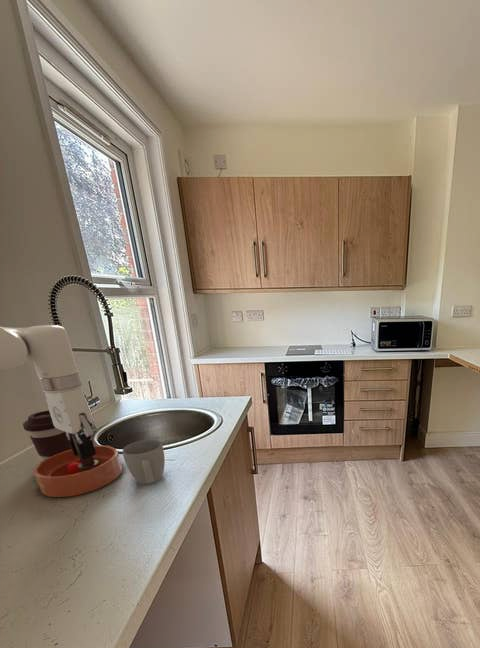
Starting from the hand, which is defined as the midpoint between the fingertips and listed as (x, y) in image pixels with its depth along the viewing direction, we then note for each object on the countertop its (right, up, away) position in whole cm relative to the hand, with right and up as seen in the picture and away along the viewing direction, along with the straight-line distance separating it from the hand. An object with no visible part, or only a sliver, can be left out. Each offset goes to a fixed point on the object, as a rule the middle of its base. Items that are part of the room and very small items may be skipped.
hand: (85, 454), depth 86 cm
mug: (+16, -8, +1) cm, 18 cm away
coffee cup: (-15, -4, +13) cm, 20 cm away
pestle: (0, -5, +2) cm, 6 cm away
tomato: (-5, -4, +4) cm, 8 cm away
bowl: (-2, -7, +3) cm, 8 cm away
